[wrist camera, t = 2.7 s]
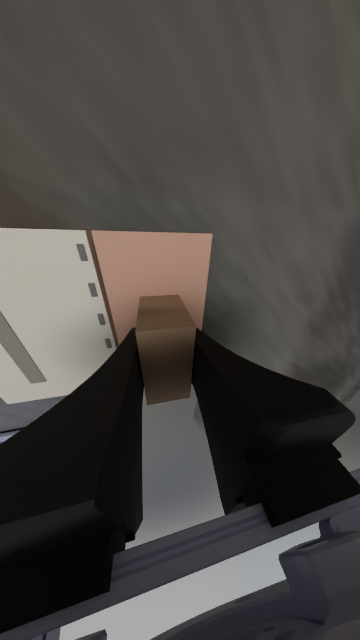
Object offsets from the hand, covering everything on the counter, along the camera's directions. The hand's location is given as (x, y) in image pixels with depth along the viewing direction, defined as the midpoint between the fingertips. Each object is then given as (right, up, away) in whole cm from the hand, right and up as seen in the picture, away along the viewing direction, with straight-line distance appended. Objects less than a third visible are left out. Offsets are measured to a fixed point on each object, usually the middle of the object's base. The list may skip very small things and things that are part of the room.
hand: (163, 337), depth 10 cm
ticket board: (-8, +1, +1) cm, 9 cm away
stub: (-1, +1, +2) cm, 3 cm away
